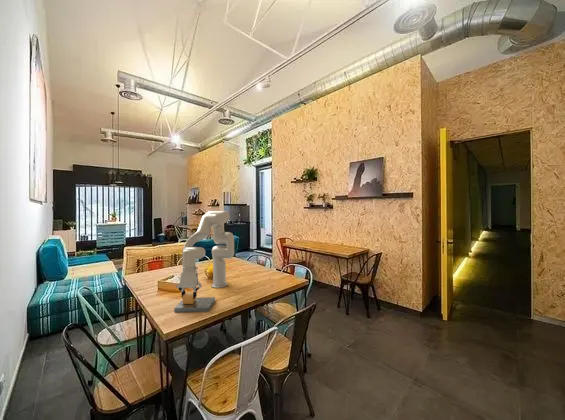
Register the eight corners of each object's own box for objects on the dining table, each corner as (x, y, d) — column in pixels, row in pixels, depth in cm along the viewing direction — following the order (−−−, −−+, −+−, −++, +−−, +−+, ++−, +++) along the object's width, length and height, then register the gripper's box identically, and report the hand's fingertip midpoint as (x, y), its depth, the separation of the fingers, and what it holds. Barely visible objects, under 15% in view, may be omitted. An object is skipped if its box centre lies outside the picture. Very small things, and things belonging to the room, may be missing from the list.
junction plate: (184, 301, 157) (184, 291, 156) (215, 301, 158) (215, 291, 157) (174, 312, 141) (174, 301, 140) (208, 311, 142) (208, 300, 141)
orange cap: (186, 300, 152) (186, 292, 152) (195, 299, 152) (195, 292, 152) (182, 303, 146) (182, 295, 146) (192, 303, 146) (192, 295, 146)
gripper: (204, 267, 153) (204, 295, 153) (177, 267, 152) (177, 296, 152) (201, 270, 145) (201, 300, 145) (172, 270, 144) (172, 300, 144)
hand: (189, 297), depth 149 cm, fingers closed on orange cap, 6 cm apart
